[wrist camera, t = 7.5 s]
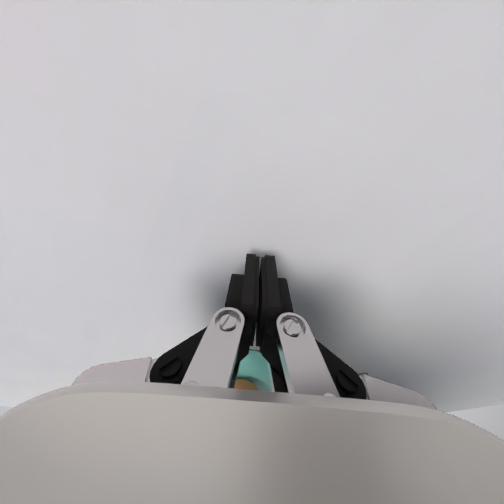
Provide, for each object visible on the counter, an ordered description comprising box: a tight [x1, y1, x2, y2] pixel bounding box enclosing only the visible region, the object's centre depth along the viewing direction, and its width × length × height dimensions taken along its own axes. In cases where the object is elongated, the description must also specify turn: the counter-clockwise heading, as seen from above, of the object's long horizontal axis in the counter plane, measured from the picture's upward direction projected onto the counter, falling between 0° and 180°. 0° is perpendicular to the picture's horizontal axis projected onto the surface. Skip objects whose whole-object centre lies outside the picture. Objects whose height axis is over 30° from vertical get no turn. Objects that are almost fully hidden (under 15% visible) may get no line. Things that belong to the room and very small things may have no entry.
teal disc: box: [237, 350, 272, 392], centre depth 21 cm, size 13×13×1 cm
